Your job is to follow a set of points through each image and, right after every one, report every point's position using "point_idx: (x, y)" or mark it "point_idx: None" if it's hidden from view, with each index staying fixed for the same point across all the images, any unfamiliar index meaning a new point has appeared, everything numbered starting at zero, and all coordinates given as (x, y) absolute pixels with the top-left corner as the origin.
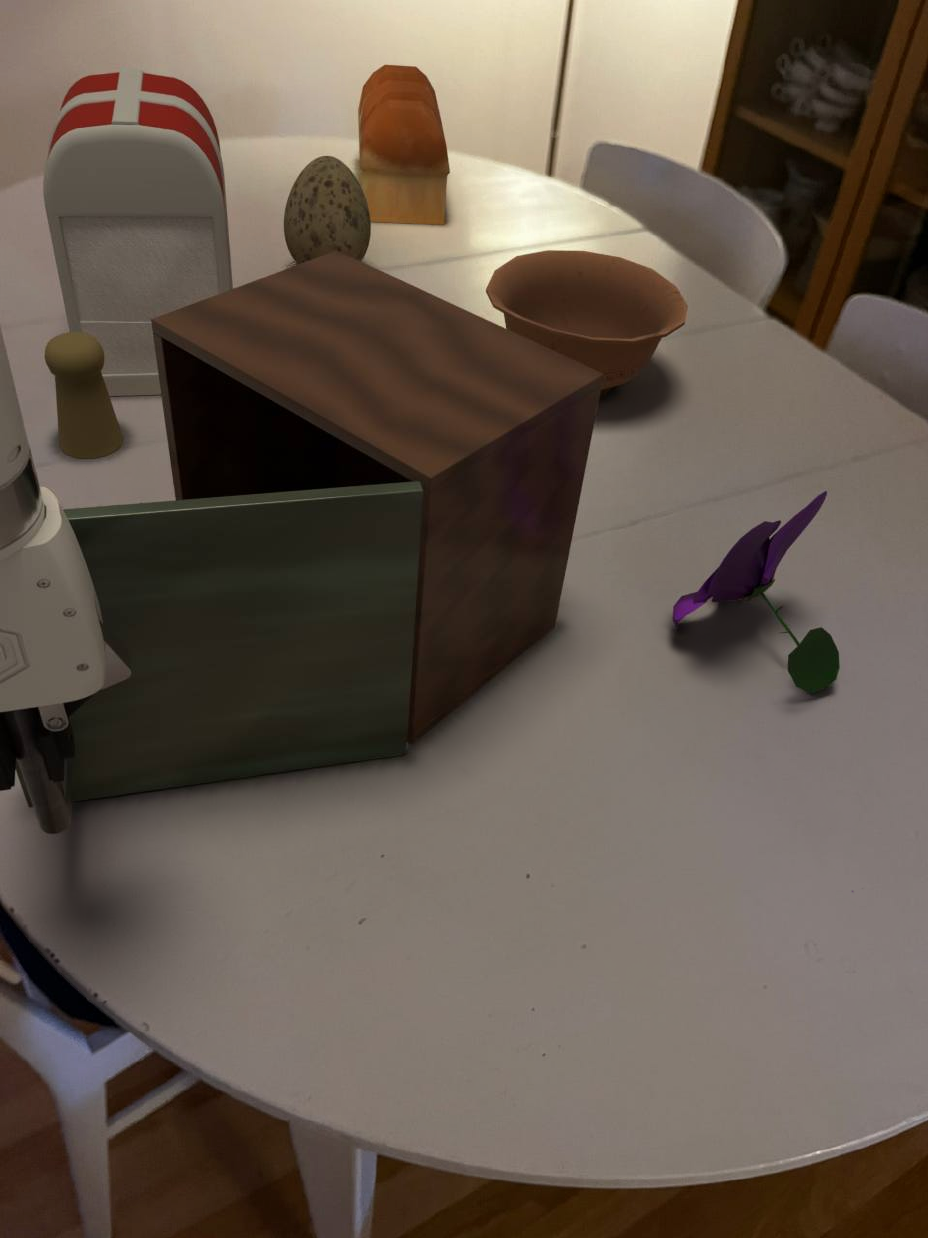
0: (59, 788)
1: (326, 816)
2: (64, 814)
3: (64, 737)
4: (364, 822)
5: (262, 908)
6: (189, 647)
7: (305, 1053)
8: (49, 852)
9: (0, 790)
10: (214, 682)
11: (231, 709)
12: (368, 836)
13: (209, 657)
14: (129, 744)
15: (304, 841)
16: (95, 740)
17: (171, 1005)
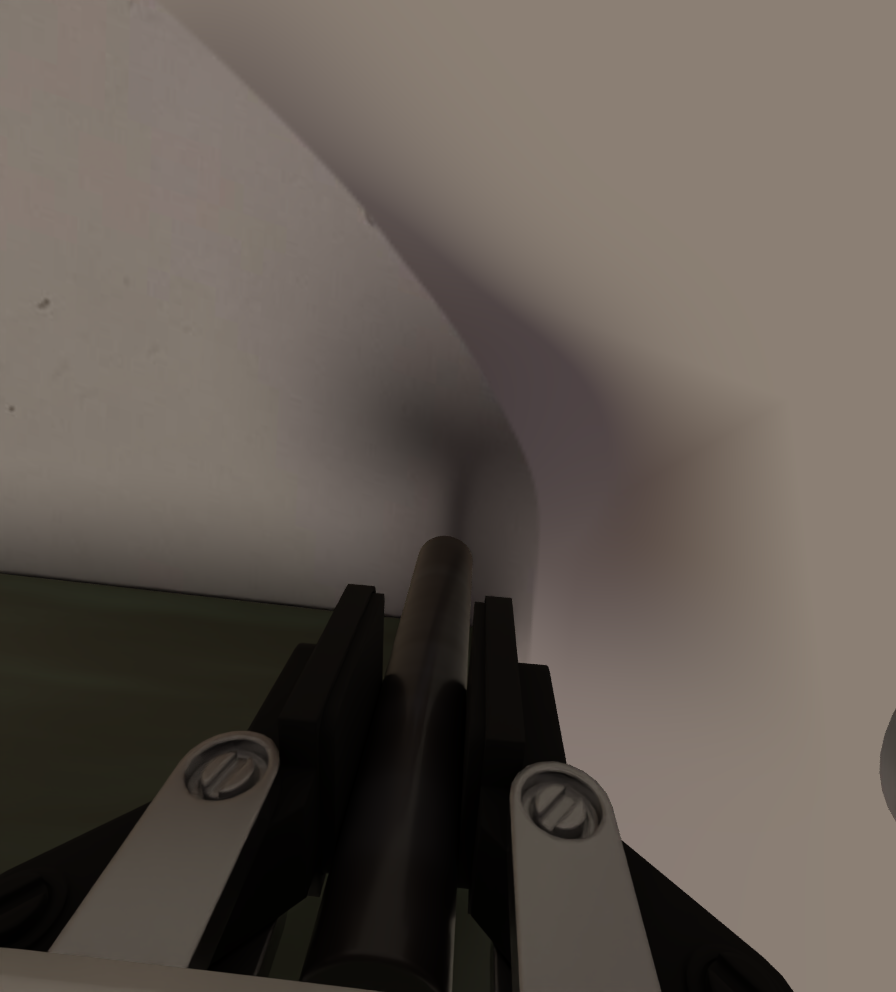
0: (405, 601)
1: (93, 500)
2: (419, 559)
3: (274, 704)
4: (38, 474)
5: (191, 370)
6: None
7: (135, 89)
8: (484, 552)
9: (510, 598)
10: (80, 765)
11: (114, 700)
12: (32, 448)
13: (22, 836)
14: None
15: (126, 467)
16: None
17: (331, 242)
